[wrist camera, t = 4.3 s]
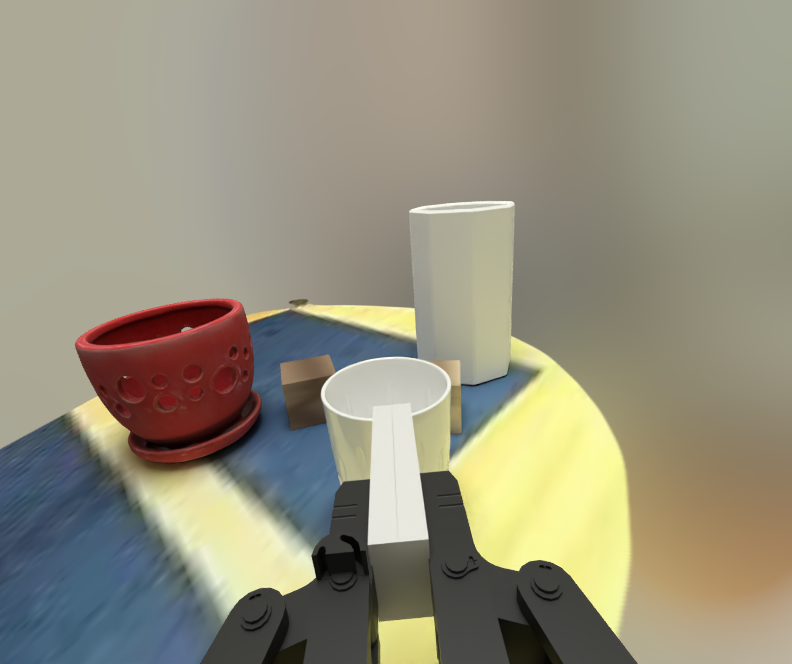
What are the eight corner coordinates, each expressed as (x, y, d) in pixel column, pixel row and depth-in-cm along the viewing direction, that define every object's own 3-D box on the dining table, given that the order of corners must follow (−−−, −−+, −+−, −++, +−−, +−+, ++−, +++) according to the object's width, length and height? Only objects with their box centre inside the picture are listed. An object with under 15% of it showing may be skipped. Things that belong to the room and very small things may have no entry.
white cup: (334, 486, 30) (315, 368, 27) (431, 462, 32) (425, 349, 29) (350, 577, 23) (327, 433, 20) (474, 540, 25) (473, 402, 21)
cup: (423, 390, 43) (413, 213, 36) (414, 350, 53) (405, 206, 47) (525, 382, 43) (533, 204, 37) (496, 343, 54) (499, 199, 47)
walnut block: (291, 431, 38) (282, 384, 36) (288, 405, 42) (280, 363, 41) (342, 419, 39) (336, 374, 37) (335, 395, 44) (329, 354, 42)
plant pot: (266, 388, 46) (244, 288, 42) (270, 453, 35) (242, 325, 31) (140, 414, 43) (103, 308, 39) (99, 498, 31) (39, 359, 27)
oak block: (405, 434, 36) (402, 385, 34) (411, 404, 41) (408, 360, 39) (461, 435, 35) (460, 385, 34) (460, 405, 40) (459, 360, 38)
